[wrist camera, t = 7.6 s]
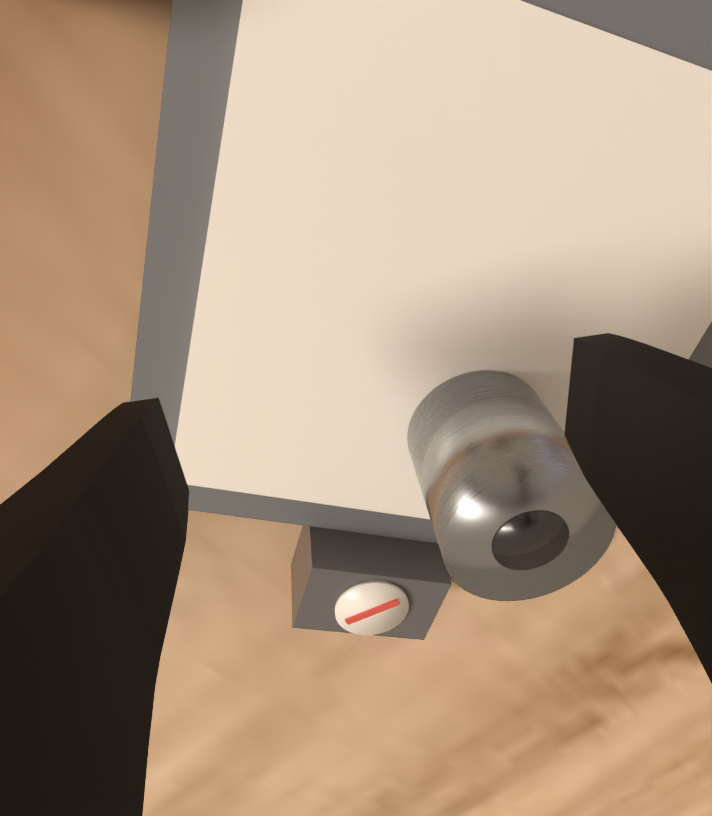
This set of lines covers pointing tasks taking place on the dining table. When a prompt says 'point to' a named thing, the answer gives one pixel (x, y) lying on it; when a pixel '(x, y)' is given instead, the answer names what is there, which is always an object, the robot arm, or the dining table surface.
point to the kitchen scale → (406, 248)
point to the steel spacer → (504, 489)
